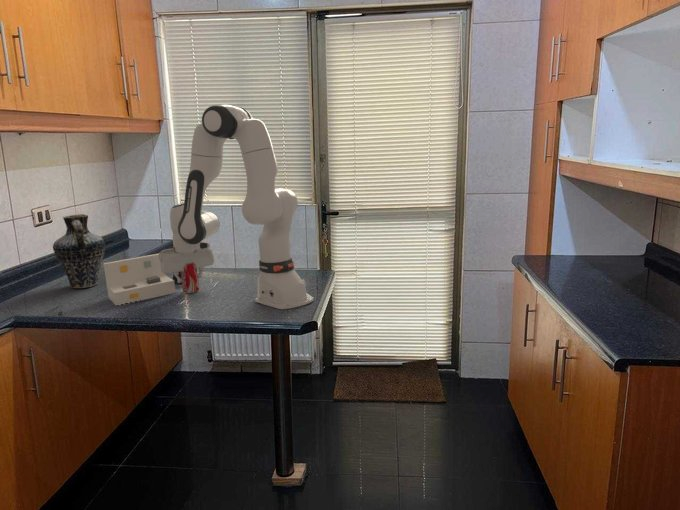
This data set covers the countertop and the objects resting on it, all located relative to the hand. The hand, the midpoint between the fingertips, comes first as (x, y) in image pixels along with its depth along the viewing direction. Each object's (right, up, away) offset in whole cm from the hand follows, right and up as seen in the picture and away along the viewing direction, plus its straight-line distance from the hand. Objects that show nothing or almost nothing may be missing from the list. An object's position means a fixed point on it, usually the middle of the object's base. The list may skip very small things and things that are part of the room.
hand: (189, 280), depth 199 cm
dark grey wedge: (-6, -2, +15) cm, 16 cm away
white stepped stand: (-18, -6, -1) cm, 19 cm away
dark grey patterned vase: (-49, -3, +17) cm, 52 cm away
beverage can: (0, -5, +1) cm, 5 cm away
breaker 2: (-14, -3, 0) cm, 14 cm away
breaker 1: (-21, -7, -4) cm, 22 cm away
